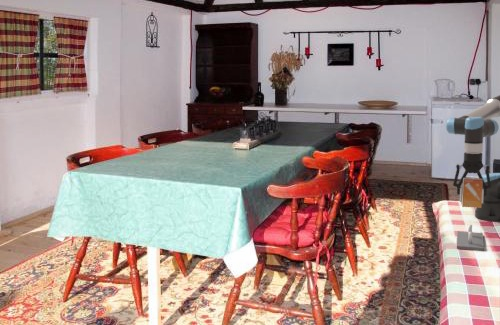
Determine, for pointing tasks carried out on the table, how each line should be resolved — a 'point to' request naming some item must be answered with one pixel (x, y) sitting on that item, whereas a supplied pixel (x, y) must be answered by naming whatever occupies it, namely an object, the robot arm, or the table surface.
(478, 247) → the pin tray
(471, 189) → the small box
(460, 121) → the robot arm
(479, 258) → the table surface
